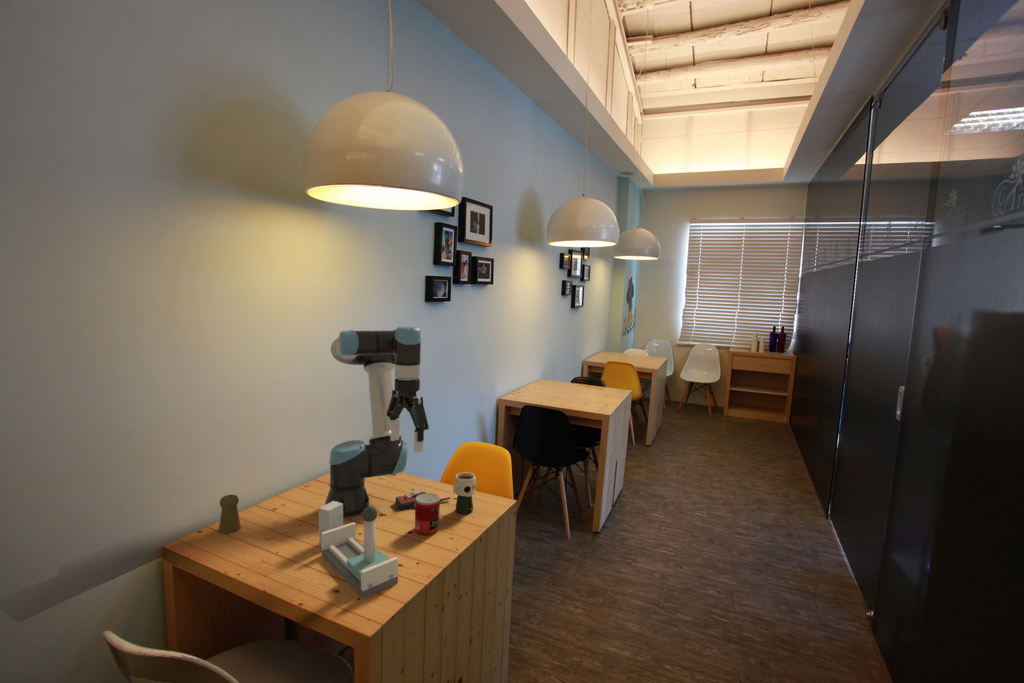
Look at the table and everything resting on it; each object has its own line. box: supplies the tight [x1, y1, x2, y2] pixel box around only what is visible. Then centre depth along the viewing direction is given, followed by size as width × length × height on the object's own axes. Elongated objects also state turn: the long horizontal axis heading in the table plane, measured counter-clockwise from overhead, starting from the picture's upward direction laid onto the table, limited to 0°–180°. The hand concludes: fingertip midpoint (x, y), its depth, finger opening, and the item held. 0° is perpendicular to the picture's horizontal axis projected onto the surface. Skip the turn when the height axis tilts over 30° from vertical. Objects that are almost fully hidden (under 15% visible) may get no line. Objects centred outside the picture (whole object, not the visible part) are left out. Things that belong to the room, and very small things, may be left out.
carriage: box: [347, 505, 390, 581], centre depth 128 cm, size 8×9×17 cm
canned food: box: [414, 492, 441, 536], centre depth 156 cm, size 8×8×11 cm
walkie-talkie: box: [394, 489, 451, 511], centre depth 176 cm, size 9×4×20 cm
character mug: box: [452, 471, 477, 514], centre depth 171 cm, size 11×7×13 cm, turn 139°
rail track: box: [321, 521, 399, 599], centre depth 133 cm, size 26×10×7 cm, turn 44°
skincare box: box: [318, 501, 344, 547], centre depth 146 cm, size 6×4×12 cm
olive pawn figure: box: [218, 494, 242, 535], centre depth 151 cm, size 6×6×11 cm
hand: (406, 445), depth 146 cm, fingers open, 13 cm apart
